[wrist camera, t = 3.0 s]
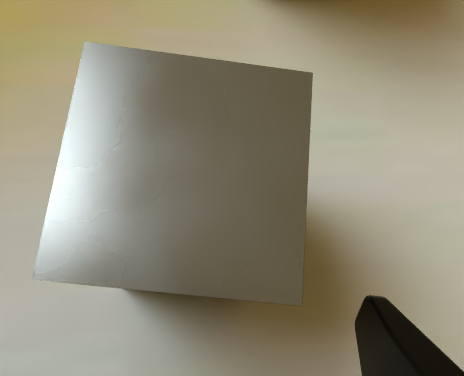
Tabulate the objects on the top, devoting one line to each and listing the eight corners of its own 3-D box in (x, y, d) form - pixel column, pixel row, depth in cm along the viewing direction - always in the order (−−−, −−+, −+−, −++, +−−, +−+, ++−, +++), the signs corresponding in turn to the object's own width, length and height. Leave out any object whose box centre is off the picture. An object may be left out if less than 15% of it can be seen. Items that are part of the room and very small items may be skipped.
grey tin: (244, 298, 18) (302, 306, 8) (120, 285, 18) (31, 279, 8) (253, 180, 19) (312, 72, 10) (139, 167, 19) (84, 41, 9)
